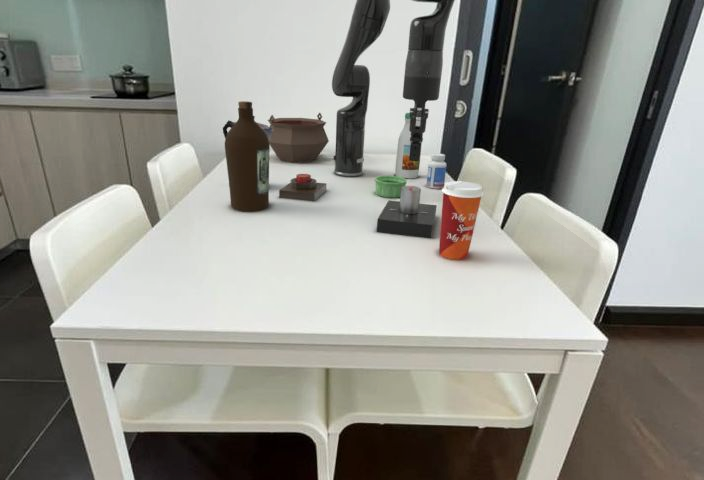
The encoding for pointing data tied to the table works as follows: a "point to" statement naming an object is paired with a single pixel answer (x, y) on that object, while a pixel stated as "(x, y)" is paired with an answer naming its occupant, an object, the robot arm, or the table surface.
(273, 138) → the brown cauldron
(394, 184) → the ramekin
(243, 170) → the olive oil
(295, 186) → the dark brown square base
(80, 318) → the table surface
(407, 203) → the knob
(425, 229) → the panel
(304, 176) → the power button
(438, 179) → the pill bottle
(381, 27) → the robot arm
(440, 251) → the paper cup
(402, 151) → the milk bottle
